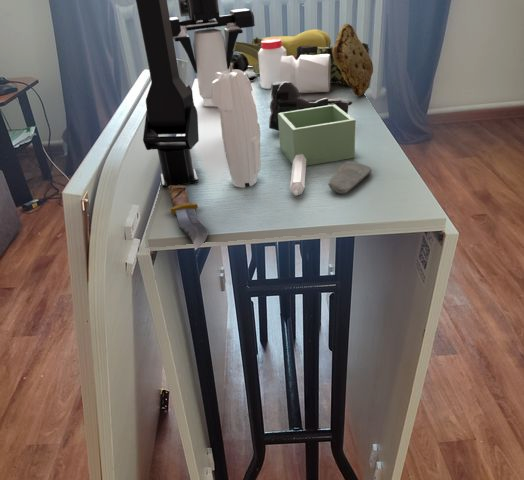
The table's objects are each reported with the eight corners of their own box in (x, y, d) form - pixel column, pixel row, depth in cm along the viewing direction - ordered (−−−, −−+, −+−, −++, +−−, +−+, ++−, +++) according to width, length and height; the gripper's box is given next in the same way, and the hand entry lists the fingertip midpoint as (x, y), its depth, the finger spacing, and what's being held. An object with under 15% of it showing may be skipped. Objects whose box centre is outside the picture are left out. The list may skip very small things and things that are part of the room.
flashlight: (228, 193, 92) (269, 185, 93) (212, 80, 81) (259, 72, 82) (220, 180, 97) (259, 172, 98) (204, 72, 86) (248, 64, 87)
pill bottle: (256, 85, 151) (252, 41, 144) (280, 80, 153) (277, 36, 146) (267, 90, 145) (264, 44, 138) (293, 85, 147) (290, 39, 140)
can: (225, 98, 111) (218, 31, 104) (196, 99, 113) (187, 33, 105) (233, 91, 116) (227, 27, 109) (204, 92, 118) (196, 29, 111)
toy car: (295, 88, 143) (301, 80, 151) (366, 85, 139) (369, 78, 146) (294, 48, 137) (300, 42, 145) (368, 44, 133) (371, 38, 141)
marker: (295, 205, 87) (298, 168, 99) (306, 199, 86) (308, 162, 98) (286, 193, 86) (290, 156, 98) (297, 186, 85) (300, 150, 97)
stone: (348, 157, 95) (375, 164, 93) (347, 165, 96) (373, 173, 95) (323, 182, 87) (352, 190, 86) (322, 190, 88) (351, 199, 87)
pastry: (372, 102, 139) (382, 98, 137) (335, 92, 126) (346, 87, 124) (362, 33, 137) (372, 28, 135) (324, 15, 124) (335, 9, 122)
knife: (211, 243, 76) (176, 249, 75) (212, 252, 77) (178, 258, 76) (193, 178, 94) (165, 183, 94) (195, 186, 95) (167, 191, 95)
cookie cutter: (229, 45, 157) (230, 38, 156) (264, 43, 162) (265, 36, 161) (258, 77, 149) (259, 70, 148) (294, 74, 154) (295, 67, 153)
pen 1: (215, 86, 150) (216, 91, 151) (218, 86, 149) (219, 91, 149) (255, 74, 156) (256, 79, 156) (258, 74, 154) (259, 78, 155)
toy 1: (211, 87, 156) (233, 71, 166) (233, 89, 154) (254, 73, 163) (208, 59, 151) (231, 44, 160) (231, 61, 148) (253, 46, 158)
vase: (328, 99, 136) (281, 100, 139) (331, 81, 141) (286, 82, 144) (327, 64, 129) (278, 66, 132) (330, 46, 134) (283, 49, 137)
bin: (354, 157, 100) (355, 119, 96) (294, 167, 99) (292, 129, 94) (335, 139, 109) (335, 104, 105) (280, 148, 108) (277, 113, 103)
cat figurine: (263, 132, 125) (338, 137, 127) (269, 130, 112) (352, 136, 114) (265, 85, 122) (342, 91, 124) (272, 78, 109) (358, 85, 111)
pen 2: (347, 103, 129) (347, 100, 128) (270, 107, 133) (269, 105, 132) (347, 99, 130) (347, 97, 128) (270, 103, 133) (269, 101, 132)
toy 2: (237, 79, 172) (319, 69, 155) (230, 47, 166) (314, 33, 150) (260, 67, 180) (340, 57, 164) (254, 36, 175) (336, 22, 158)
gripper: (240, -26, 110) (248, 59, 119) (149, -16, 107) (165, 70, 117) (251, -25, 101) (258, 67, 111) (153, -13, 99) (169, 79, 108)
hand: (212, 70), depth 112 cm, fingers closed on can, 6 cm apart
